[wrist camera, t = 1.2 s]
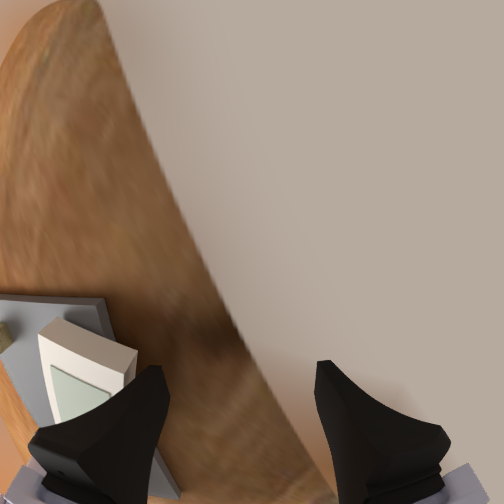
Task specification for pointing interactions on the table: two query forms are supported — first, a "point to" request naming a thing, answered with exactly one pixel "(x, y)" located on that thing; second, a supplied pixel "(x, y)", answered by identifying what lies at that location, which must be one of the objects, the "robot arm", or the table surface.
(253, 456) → the table surface
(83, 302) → the board
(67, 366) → the frame
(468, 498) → the robot arm
